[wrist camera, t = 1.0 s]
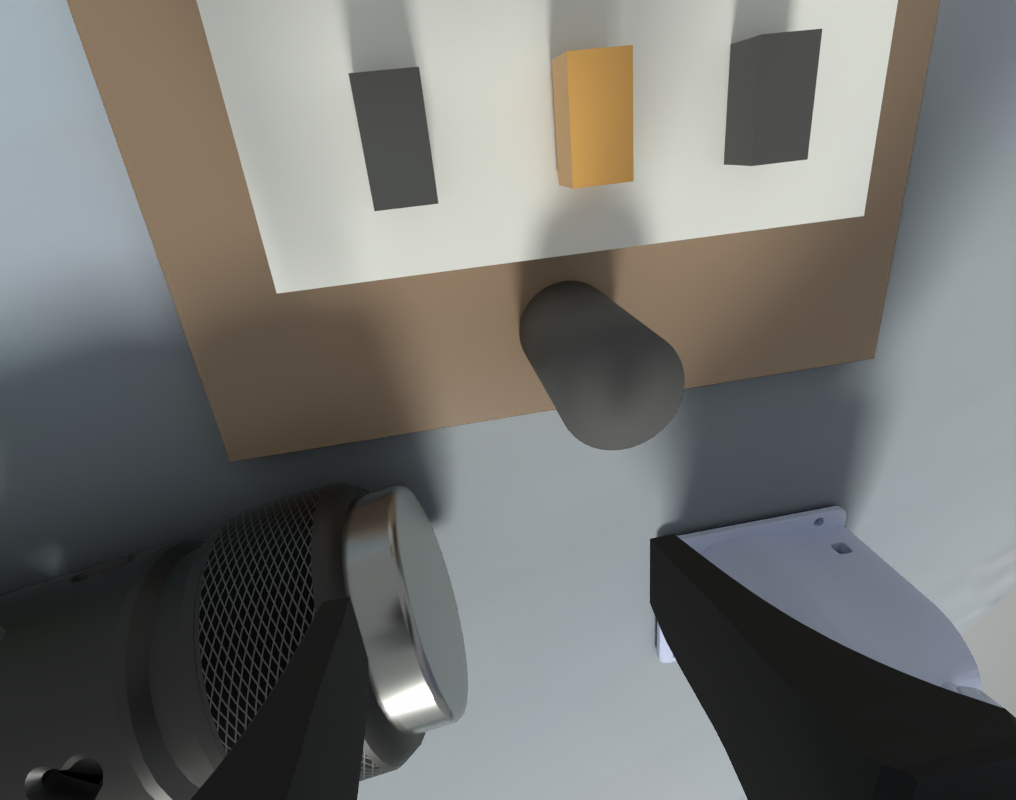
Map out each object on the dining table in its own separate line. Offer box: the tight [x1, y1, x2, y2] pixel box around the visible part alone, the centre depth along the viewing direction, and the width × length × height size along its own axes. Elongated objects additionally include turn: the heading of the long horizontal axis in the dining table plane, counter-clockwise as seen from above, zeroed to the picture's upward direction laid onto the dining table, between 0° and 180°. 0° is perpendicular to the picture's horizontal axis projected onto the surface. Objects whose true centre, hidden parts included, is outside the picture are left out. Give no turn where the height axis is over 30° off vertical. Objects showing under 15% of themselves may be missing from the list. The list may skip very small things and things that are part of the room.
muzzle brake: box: [0, 484, 468, 800], centre depth 20 cm, size 10×28×10 cm
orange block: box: [552, 45, 634, 189], centre depth 14 cm, size 2×3×2 cm, turn 5°
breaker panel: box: [67, 0, 940, 462], centre depth 17 cm, size 26×20×6 cm
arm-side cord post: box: [519, 281, 685, 450], centre depth 18 cm, size 4×4×6 cm
